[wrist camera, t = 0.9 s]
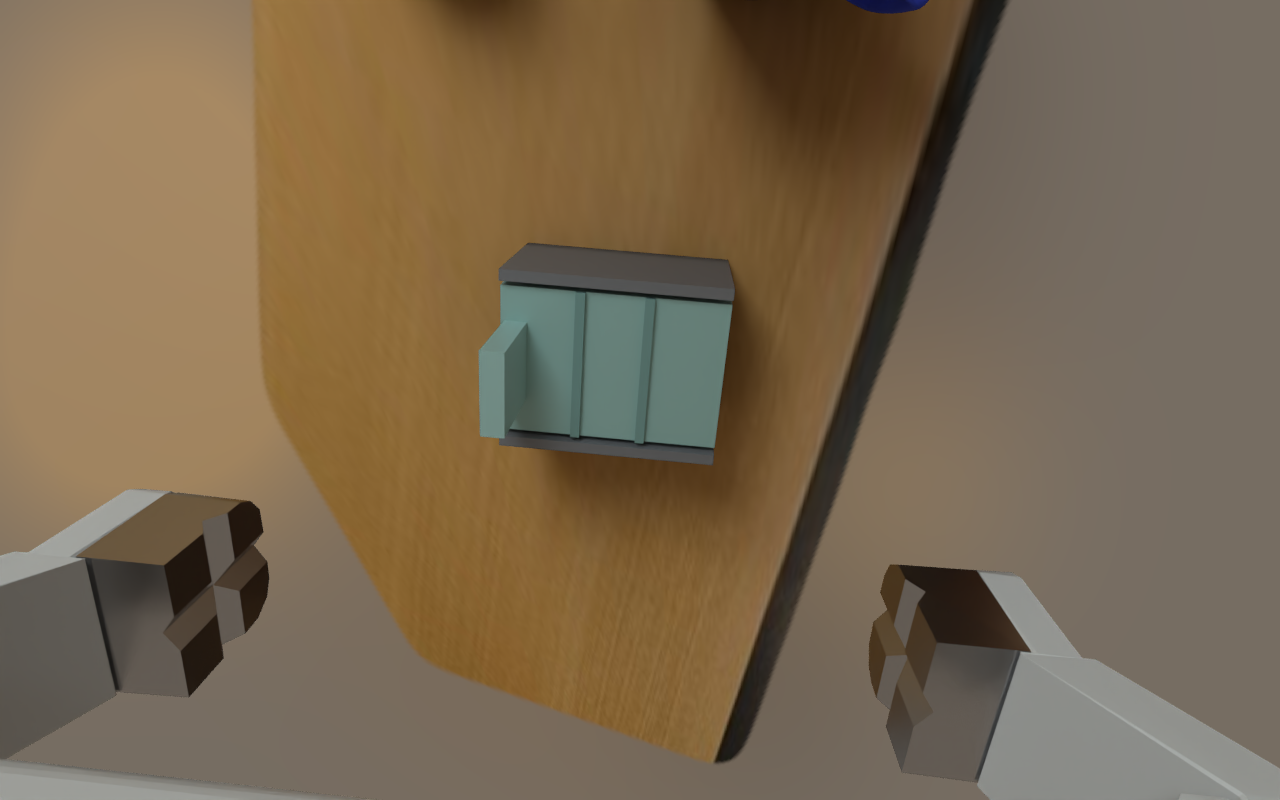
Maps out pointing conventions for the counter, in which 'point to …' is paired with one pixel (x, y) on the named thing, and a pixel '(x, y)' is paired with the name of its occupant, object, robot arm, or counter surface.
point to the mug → (889, 5)
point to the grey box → (626, 276)
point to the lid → (604, 365)
